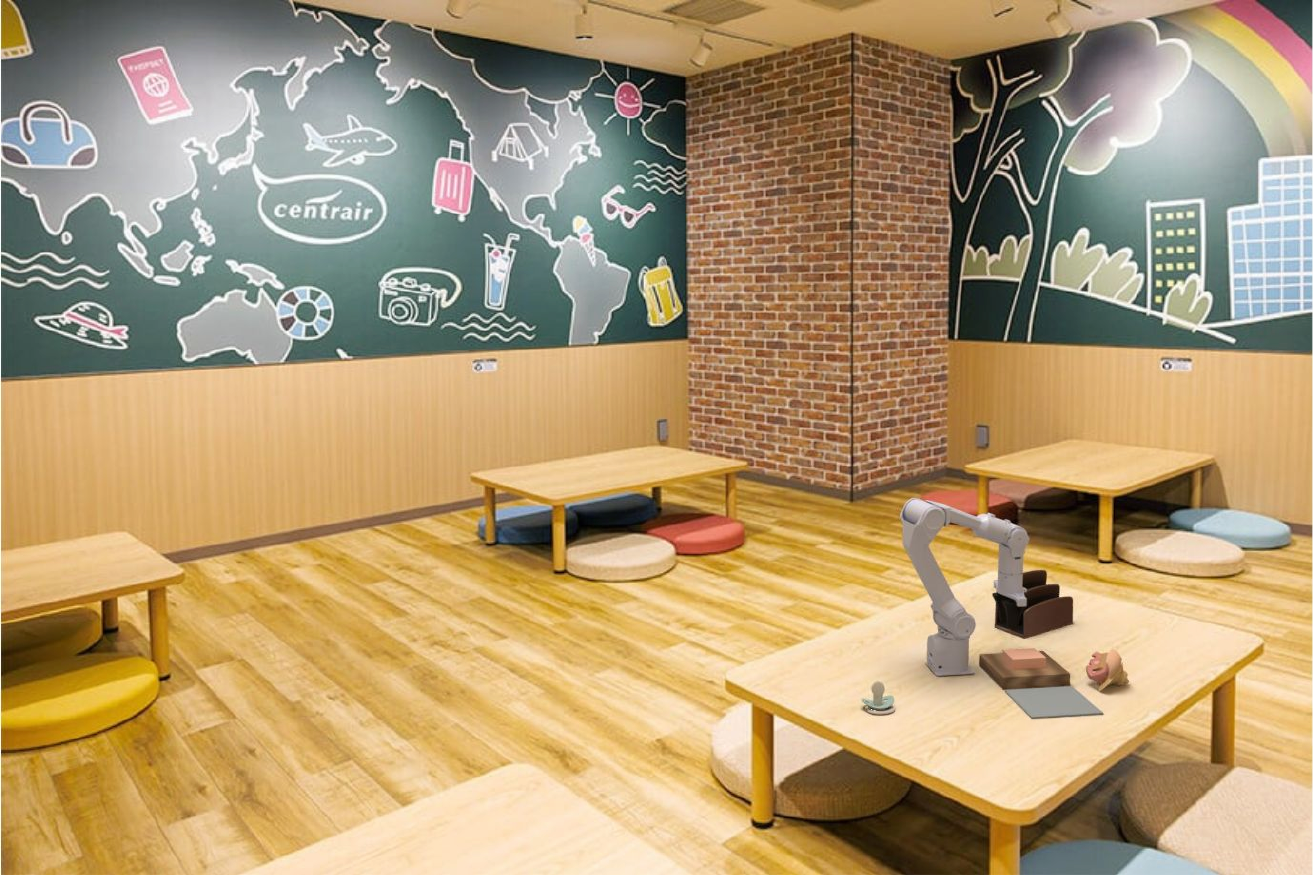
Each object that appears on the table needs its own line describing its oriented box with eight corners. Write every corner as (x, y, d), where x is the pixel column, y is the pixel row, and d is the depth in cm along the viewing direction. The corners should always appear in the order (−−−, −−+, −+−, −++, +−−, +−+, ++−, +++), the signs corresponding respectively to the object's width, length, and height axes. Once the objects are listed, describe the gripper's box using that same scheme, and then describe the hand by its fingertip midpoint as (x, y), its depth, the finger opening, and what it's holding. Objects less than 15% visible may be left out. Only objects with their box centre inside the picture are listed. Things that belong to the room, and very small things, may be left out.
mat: (1031, 718, 211) (1031, 717, 211) (1004, 691, 225) (1004, 689, 225) (1103, 714, 212) (1103, 712, 212) (1071, 687, 226) (1072, 685, 226)
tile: (1012, 669, 229) (1013, 659, 229) (1002, 659, 235) (1002, 649, 235) (1045, 667, 230) (1046, 657, 229) (1034, 657, 236) (1034, 648, 235)
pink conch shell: (1121, 679, 231) (1145, 663, 223) (1108, 710, 225) (1132, 695, 218) (1086, 655, 233) (1108, 639, 225) (1073, 686, 227) (1095, 670, 220)
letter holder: (993, 628, 264) (995, 578, 262) (1042, 613, 274) (1044, 565, 271) (1024, 639, 255) (1026, 588, 253) (1073, 624, 265) (1075, 574, 263)
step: (1002, 689, 226) (1003, 677, 225) (979, 665, 240) (979, 654, 239) (1069, 685, 227) (1070, 673, 226) (1042, 662, 241) (1042, 650, 240)
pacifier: (900, 714, 215) (889, 702, 221) (901, 688, 214) (890, 676, 220) (868, 718, 214) (858, 705, 220) (869, 691, 213) (859, 679, 219)
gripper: (1039, 580, 231) (1037, 634, 233) (1013, 562, 245) (1011, 613, 248) (1010, 581, 231) (1008, 636, 233) (986, 563, 245) (984, 615, 247)
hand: (1008, 624), depth 240 cm, fingers open, 4 cm apart
